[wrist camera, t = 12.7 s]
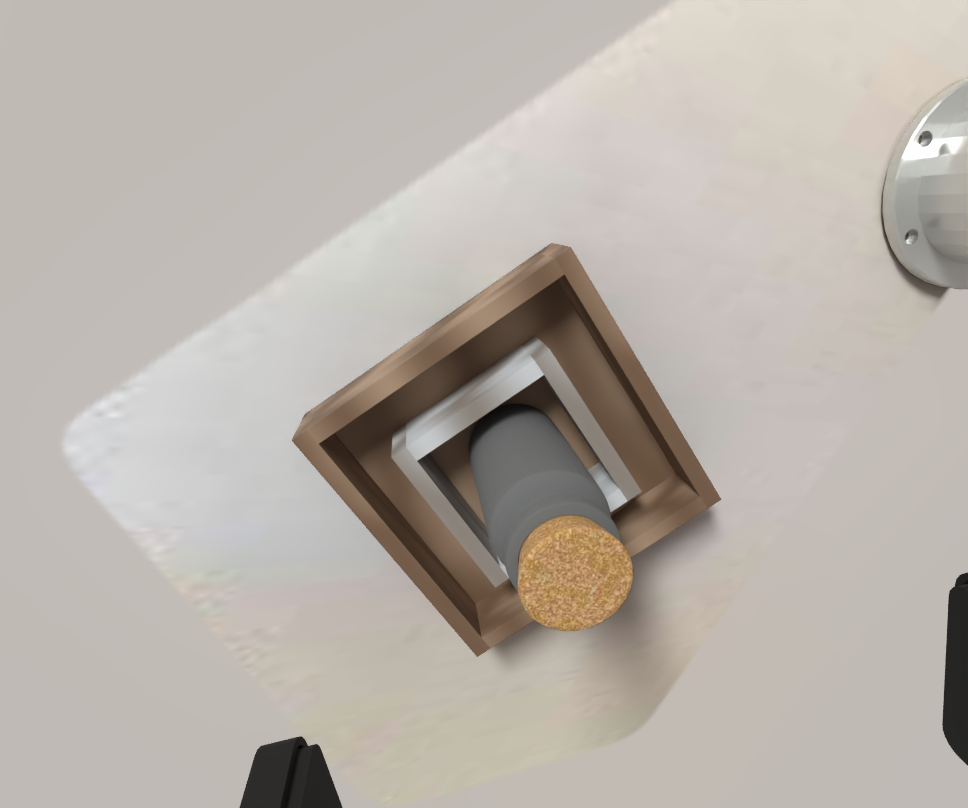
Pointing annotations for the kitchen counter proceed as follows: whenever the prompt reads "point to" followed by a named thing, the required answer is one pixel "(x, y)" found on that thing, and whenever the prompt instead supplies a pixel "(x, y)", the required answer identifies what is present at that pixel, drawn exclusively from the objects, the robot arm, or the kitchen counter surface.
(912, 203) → the robot arm
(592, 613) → the bottle
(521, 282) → the walled box
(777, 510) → the kitchen counter surface
